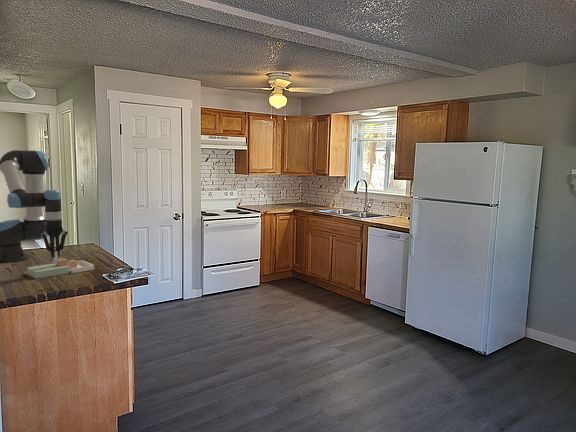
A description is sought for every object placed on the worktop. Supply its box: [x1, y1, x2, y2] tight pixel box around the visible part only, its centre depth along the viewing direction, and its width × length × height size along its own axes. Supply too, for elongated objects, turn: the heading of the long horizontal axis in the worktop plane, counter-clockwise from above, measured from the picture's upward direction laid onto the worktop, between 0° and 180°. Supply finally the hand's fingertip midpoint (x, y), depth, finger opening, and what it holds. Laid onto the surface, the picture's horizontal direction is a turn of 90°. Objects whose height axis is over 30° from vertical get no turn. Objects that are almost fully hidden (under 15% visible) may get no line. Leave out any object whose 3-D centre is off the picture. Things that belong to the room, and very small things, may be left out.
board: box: [26, 263, 70, 280], centre depth 228 cm, size 13×16×4 cm
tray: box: [66, 259, 96, 275], centre depth 239 cm, size 16×13×2 cm
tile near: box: [56, 258, 68, 266], centre depth 233 cm, size 4×4×3 cm
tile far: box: [67, 259, 78, 269], centre depth 237 cm, size 4×4×3 cm
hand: (55, 263), depth 231 cm, fingers closed
